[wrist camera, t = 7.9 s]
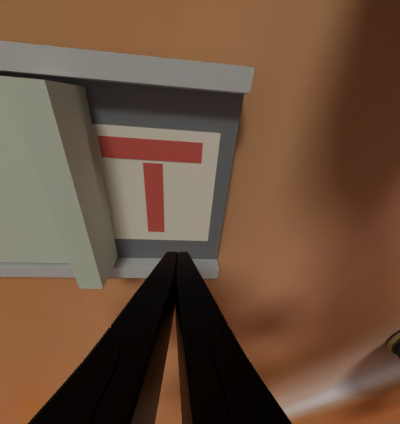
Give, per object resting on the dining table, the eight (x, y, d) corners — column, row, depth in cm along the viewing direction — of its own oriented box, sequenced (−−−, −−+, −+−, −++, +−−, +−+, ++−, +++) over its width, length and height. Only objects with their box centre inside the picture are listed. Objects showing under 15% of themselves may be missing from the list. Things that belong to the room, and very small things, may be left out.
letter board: (240, 75, 11) (254, 67, 8) (213, 255, 18) (217, 278, 15) (-204, 30, 9) (-343, 4, 7) (-40, 250, 16) (-80, 276, 14)
